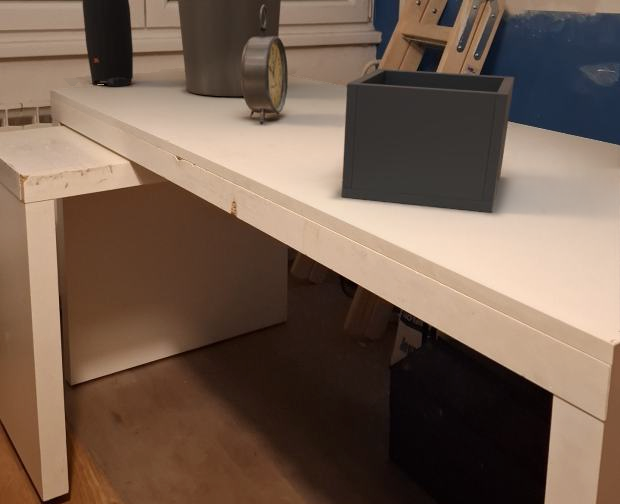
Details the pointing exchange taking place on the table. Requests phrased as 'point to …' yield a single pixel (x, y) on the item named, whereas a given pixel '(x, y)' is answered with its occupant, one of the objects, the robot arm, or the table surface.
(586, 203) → the table surface
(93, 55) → the portable speaker
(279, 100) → the alarm clock
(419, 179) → the bin
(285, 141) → the table surface
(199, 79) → the waste basket
